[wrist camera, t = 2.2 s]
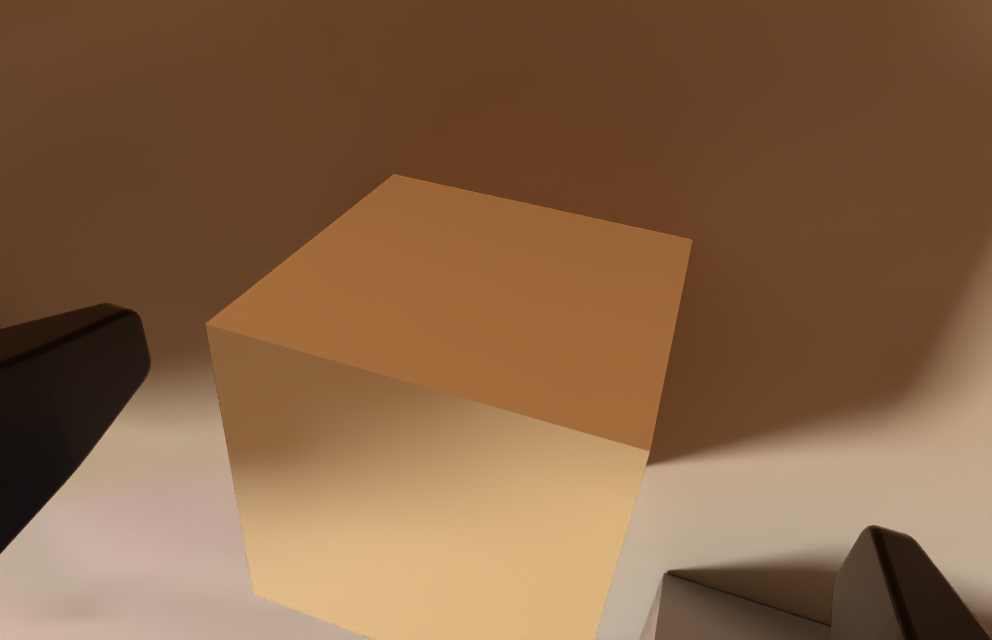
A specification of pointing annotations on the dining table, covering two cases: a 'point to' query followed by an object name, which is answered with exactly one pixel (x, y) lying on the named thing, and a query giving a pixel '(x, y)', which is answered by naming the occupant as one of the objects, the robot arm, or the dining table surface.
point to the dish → (720, 617)
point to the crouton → (447, 413)
